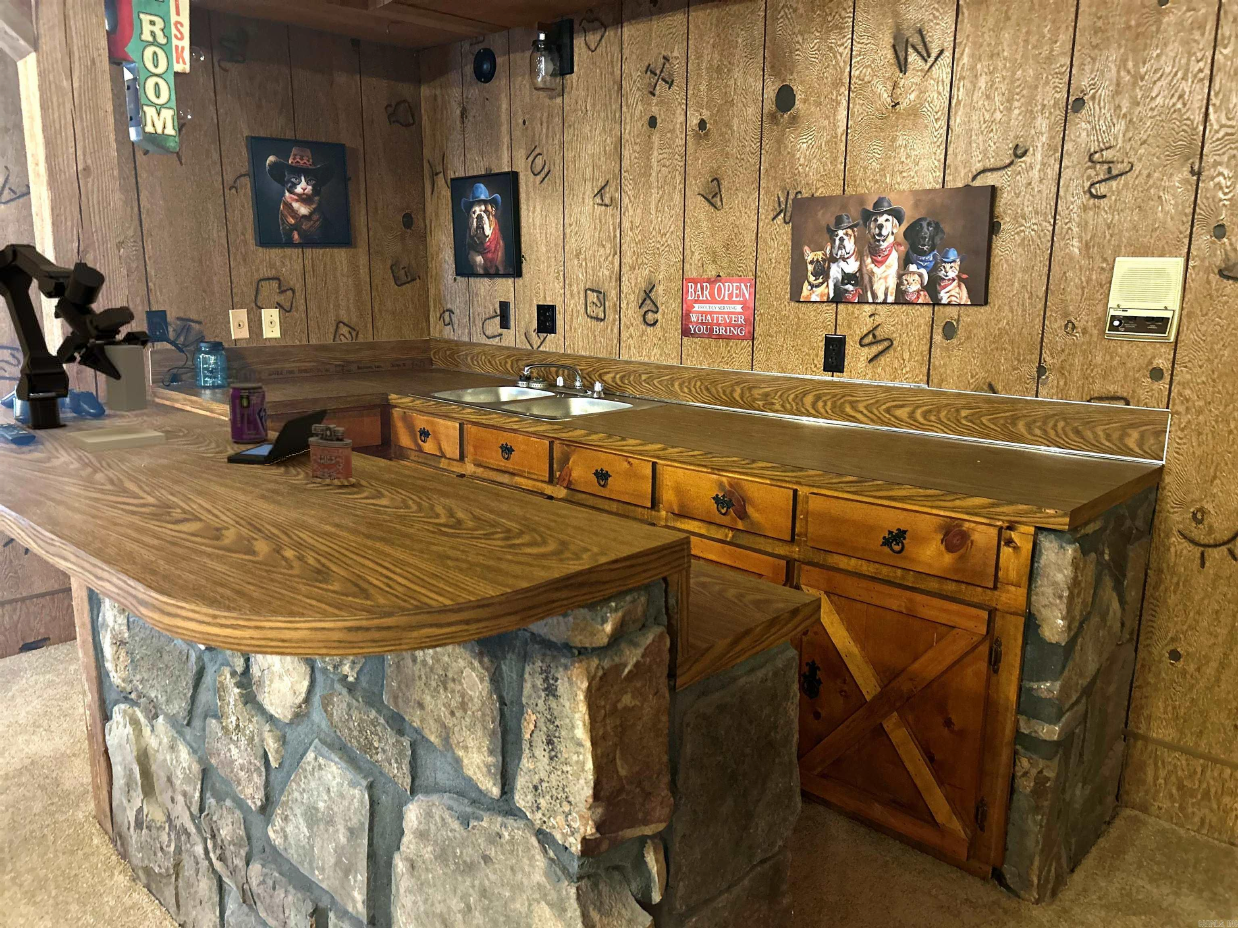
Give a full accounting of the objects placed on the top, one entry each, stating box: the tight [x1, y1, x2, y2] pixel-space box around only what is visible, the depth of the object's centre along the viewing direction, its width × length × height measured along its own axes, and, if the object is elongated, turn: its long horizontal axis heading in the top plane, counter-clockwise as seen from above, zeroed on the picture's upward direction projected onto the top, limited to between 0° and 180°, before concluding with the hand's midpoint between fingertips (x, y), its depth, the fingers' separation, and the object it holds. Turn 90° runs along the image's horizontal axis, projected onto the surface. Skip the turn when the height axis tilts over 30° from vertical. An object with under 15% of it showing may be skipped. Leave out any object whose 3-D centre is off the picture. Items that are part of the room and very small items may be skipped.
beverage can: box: [228, 382, 269, 444], centre depth 186 cm, size 7×7×12 cm
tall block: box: [104, 345, 148, 413], centre depth 182 cm, size 5×5×13 cm
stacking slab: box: [66, 425, 167, 454], centre depth 182 cm, size 14×14×2 cm
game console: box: [226, 408, 328, 465], centre depth 172 cm, size 16×14×9 cm
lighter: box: [309, 424, 353, 480], centre depth 152 cm, size 8×3×10 cm, turn 71°
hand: (130, 377), depth 181 cm, fingers closed on tall block, 5 cm apart
